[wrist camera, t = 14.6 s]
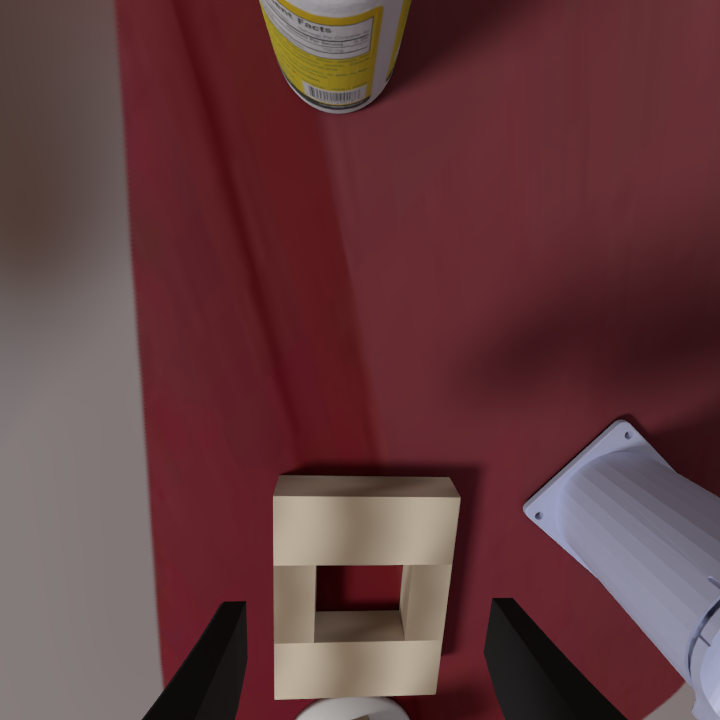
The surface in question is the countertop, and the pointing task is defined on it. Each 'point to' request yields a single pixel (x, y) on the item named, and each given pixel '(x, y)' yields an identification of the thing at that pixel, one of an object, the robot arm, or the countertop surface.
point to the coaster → (353, 709)
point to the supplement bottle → (336, 48)
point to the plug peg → (362, 718)
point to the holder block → (361, 547)
